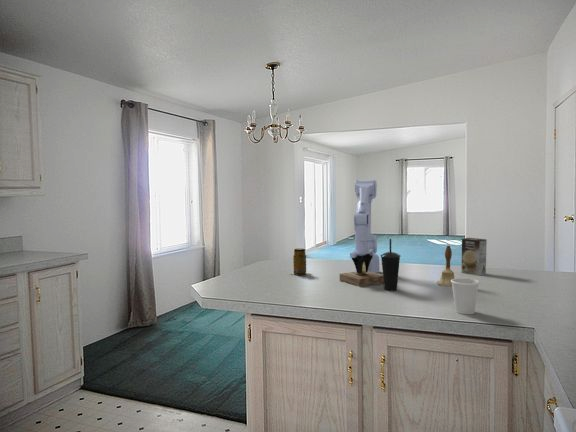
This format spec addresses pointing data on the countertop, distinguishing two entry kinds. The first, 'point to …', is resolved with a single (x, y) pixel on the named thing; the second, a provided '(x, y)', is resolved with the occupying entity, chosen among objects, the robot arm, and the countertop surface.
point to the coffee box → (474, 256)
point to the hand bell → (447, 270)
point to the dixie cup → (465, 295)
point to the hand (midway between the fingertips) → (362, 272)
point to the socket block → (361, 278)
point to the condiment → (299, 262)
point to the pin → (363, 270)
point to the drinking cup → (390, 269)
